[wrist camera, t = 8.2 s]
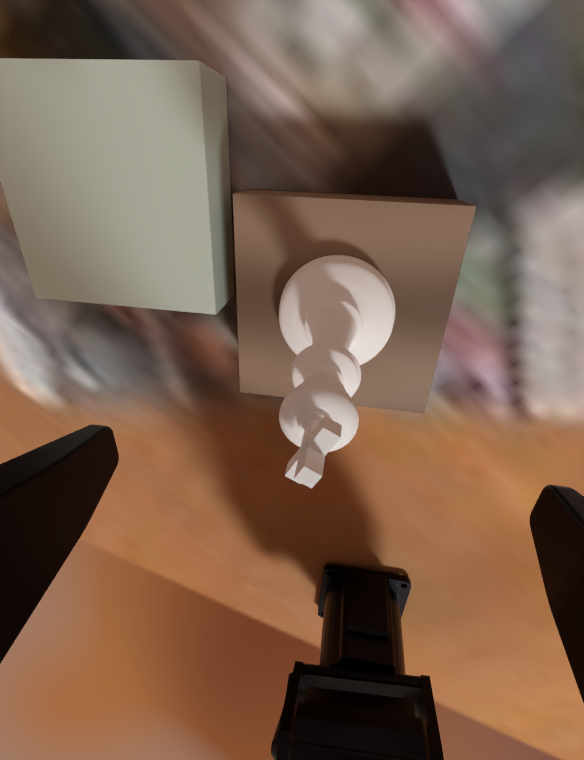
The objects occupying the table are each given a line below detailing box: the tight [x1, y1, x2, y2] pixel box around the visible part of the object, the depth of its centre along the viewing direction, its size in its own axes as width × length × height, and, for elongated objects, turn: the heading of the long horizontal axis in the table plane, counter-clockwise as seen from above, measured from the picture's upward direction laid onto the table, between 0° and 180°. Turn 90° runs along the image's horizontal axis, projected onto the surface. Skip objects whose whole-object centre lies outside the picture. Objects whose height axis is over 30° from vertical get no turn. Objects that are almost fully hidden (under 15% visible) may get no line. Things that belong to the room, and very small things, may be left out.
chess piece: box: [279, 255, 395, 489], centre depth 12 cm, size 5×5×10 cm
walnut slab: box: [233, 189, 476, 413], centre depth 18 cm, size 9×9×3 cm
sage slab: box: [0, 58, 235, 315], centre depth 17 cm, size 9×9×3 cm
